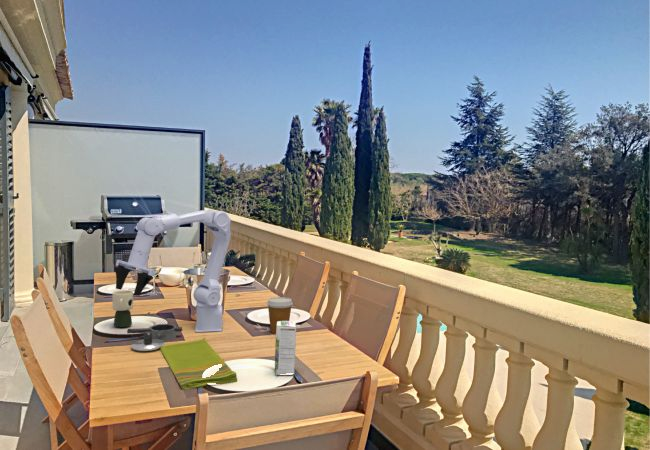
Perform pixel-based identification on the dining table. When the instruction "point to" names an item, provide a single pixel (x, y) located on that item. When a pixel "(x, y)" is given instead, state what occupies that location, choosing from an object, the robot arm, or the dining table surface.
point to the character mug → (122, 307)
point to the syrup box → (285, 347)
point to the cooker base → (159, 331)
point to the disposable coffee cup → (278, 311)
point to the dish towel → (196, 364)
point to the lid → (147, 343)
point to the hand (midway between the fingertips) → (127, 292)
